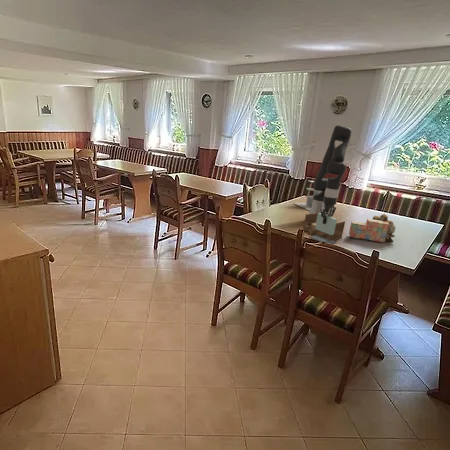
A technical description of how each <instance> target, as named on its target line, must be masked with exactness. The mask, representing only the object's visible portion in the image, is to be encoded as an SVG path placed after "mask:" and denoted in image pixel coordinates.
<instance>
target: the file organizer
mask: <svg viewBox="0 0 450 450" xmlns="http://www.w3.org/2000/svg"><path fill="white" fill-rule="evenodd" d="M309 182H311V183H314V180H309ZM306 190H308V191H312V192H313V194H312V195H305V198H306V201H305V202H293V204H295V205H296V206H299V207H301V208H303V209H306V210H307V211H309V212H310V209H311V208H312V202H313V197H314V195H316V194H319V193H321V192H322V191H317V190H314V189H313V188H311V187H310V188H309V187H306Z"/></svg>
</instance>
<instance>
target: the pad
mask: <svg viewBox="0 0 450 450" xmlns="http://www.w3.org/2000/svg"><path fill="white" fill-rule="evenodd" d="M308 238H309V239H312V240H315V241H317V242H320V243H322V242H325V243H330V245H333V244H336V243H337V242H336V241H335V240H329V239H327V238H324V237H321V236H319V235H315V234H313V235H310V236H309V237H308Z"/></svg>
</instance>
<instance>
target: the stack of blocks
mask: <svg viewBox="0 0 450 450" xmlns="http://www.w3.org/2000/svg"><path fill="white" fill-rule="evenodd" d="M350 222H351V223H350V226H349V232H348V235H349V237H351V238H356V239H362V240H369V241H375V242H378V243H379V242H380V243H386V242H385V239H386V235H387V232H388V227H389V223H388V222H385V221H380V220H373V218H372V219H371V218H367V219H366V221H365V222H362V221H361V222H360V221H355V220H351V221H350Z"/></svg>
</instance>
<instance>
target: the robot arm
mask: <svg viewBox="0 0 450 450" xmlns="http://www.w3.org/2000/svg"><path fill="white" fill-rule="evenodd" d="M352 133H353V132H352V128H350V127H346V126H344V125H338V124H337V125H336V126H334V128H333V131H332V133H331V136H330V140H329V143H328V145H327V146H328V147H327V149H326V151H325V154H324V156H323V159H322V161H321V164H320V168H319V169H318V172H317V174H316V176H315V178H314V180H313V181H314V182H312V183H313V185H312V187H313V189H314V190H317V191H322V192H321V193H319V194H316V195H314V197H313V202H312V208H311V209H310V211H309V213H308V214H310V213H316V212H317V213H318V214H319V213H321V217H323V224H326V222H327V217H328V216H330V217H333V216H334V214H335V211H336V209H337V207H335V205H337V200H338V196H339V189H340V184H341V180H342V178H343V177H344V175H345V172H346V170H347V165H346V164H345V162H344V161H345V156H346V151H347V149H348V145H349V143H350V140H351V137H352ZM336 141H337V142H341V143H340V144H338V145H337V146H336ZM327 174H331V175H337V176H336V177H329V178H324V177H325V176H326V175H327ZM317 216H318V215H317ZM316 222H317V220H316Z"/></svg>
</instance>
